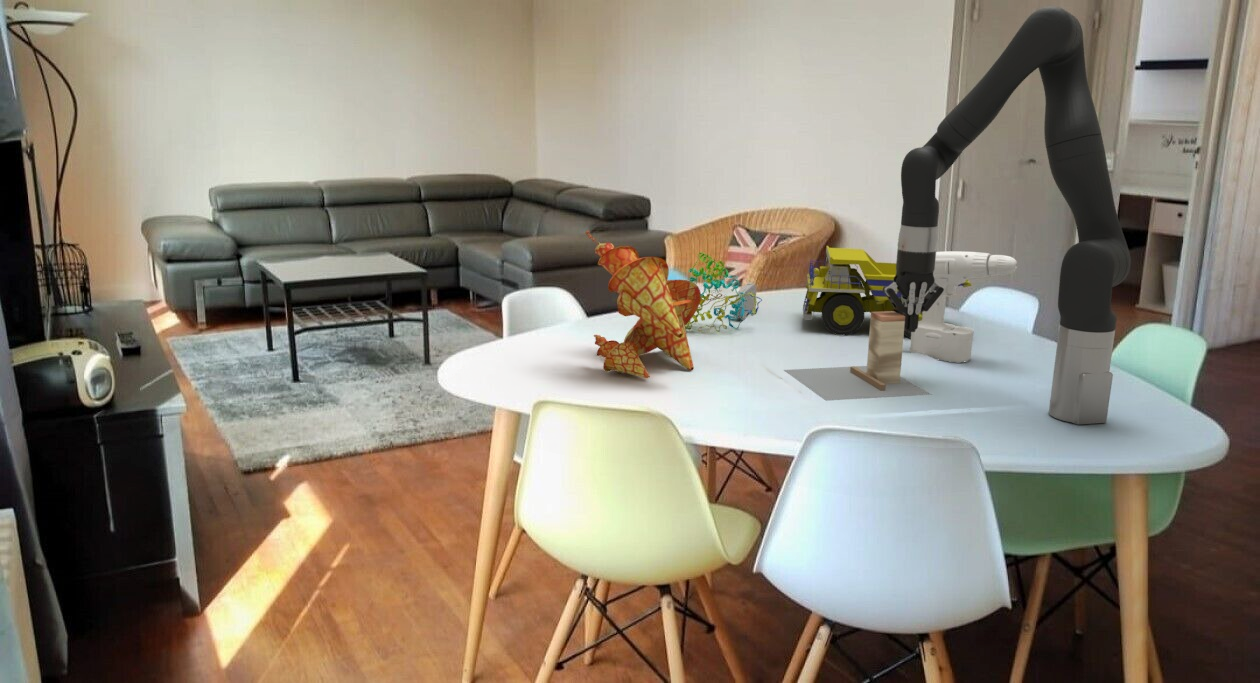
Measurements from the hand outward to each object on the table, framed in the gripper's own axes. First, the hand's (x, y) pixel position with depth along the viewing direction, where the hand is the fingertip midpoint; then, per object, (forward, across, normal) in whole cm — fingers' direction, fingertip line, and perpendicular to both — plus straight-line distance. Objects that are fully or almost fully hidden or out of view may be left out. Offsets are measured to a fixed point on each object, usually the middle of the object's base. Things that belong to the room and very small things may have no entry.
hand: (909, 331), depth 193 cm
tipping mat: (+11, -12, 0) cm, 16 cm away
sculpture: (+12, -49, +23) cm, 56 cm away
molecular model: (+12, -26, +54) cm, 61 cm away
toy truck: (+12, +18, +49) cm, 53 cm away
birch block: (+10, -5, 0) cm, 11 cm away
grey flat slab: (+12, -12, +70) cm, 72 cm away
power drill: (+11, +21, +17) cm, 29 cm away
